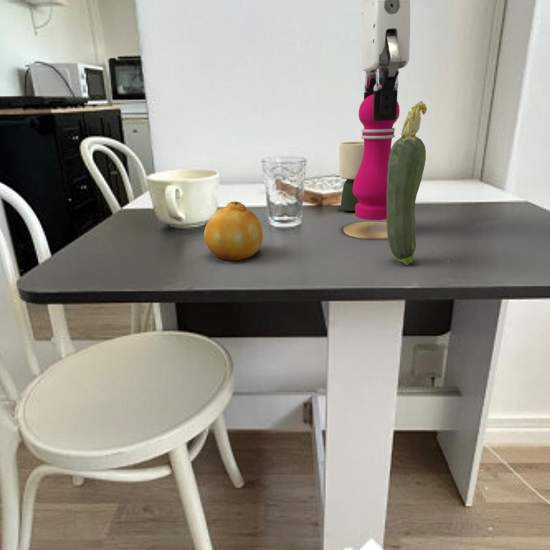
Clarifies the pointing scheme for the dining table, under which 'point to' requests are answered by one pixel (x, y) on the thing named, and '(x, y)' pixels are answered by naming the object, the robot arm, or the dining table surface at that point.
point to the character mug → (349, 171)
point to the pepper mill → (373, 163)
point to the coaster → (367, 230)
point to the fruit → (233, 232)
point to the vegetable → (405, 186)
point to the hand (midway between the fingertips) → (378, 118)
